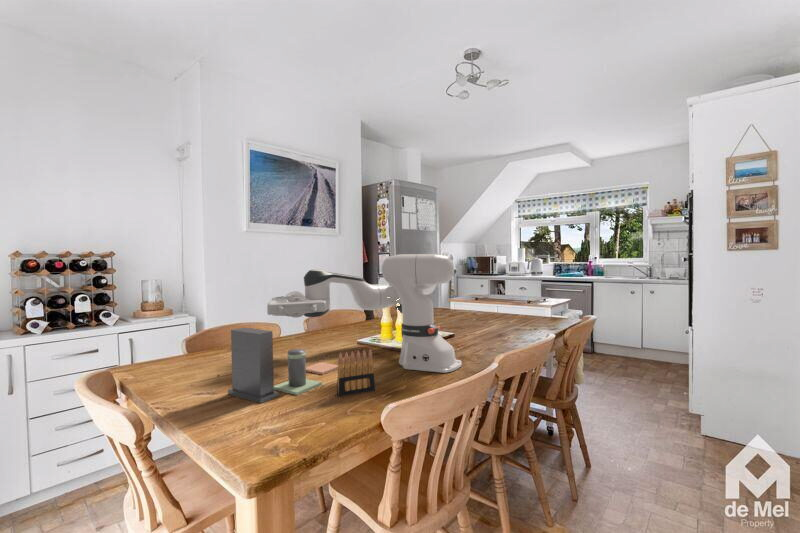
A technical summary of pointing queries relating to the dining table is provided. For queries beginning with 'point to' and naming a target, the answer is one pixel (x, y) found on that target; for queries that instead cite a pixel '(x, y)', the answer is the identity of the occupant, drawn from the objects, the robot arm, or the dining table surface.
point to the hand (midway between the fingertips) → (298, 309)
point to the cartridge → (297, 367)
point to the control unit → (252, 364)
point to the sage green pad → (297, 390)
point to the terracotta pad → (321, 368)
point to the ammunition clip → (355, 374)
